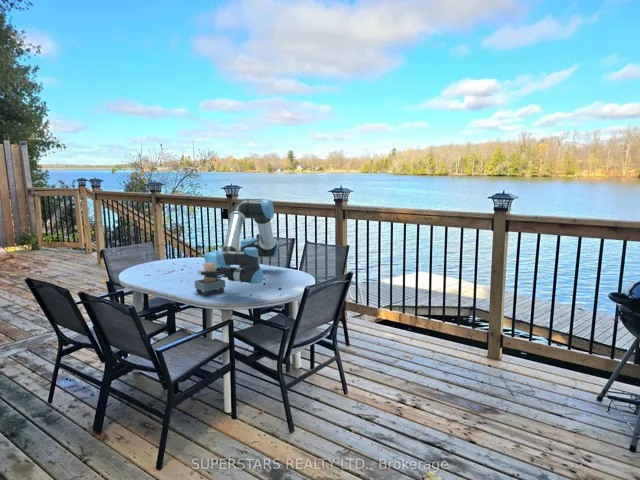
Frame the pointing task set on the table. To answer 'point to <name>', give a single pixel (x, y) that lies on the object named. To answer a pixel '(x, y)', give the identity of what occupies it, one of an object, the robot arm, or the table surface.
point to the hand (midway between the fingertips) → (202, 270)
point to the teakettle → (214, 259)
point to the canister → (209, 267)
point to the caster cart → (209, 286)
